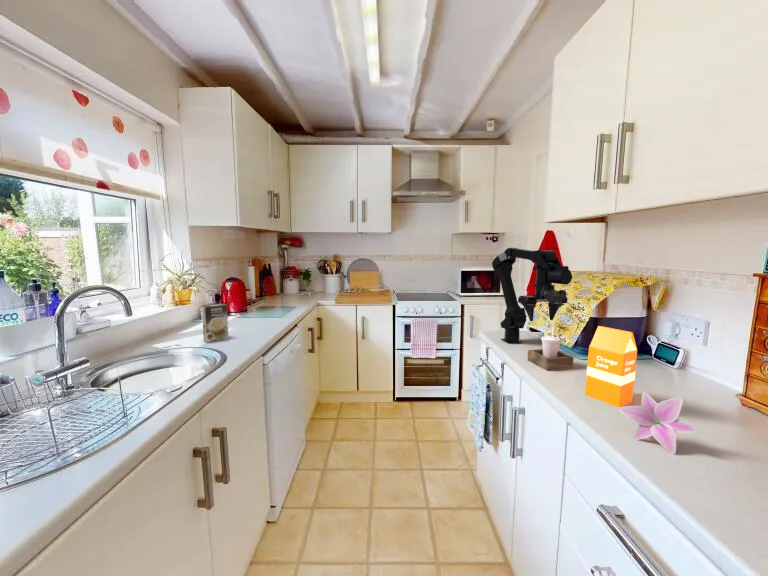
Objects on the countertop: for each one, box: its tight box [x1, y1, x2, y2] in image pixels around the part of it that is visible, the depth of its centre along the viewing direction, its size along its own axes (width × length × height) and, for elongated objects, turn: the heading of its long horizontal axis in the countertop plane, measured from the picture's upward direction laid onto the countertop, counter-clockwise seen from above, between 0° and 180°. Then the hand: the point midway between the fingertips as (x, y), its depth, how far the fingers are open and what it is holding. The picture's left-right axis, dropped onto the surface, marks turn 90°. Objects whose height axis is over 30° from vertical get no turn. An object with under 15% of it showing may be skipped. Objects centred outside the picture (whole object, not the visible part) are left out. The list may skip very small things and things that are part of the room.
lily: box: [618, 391, 697, 455], centre depth 73 cm, size 12×12×10 cm
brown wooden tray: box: [527, 348, 574, 371], centre depth 120 cm, size 10×10×4 cm
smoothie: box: [540, 326, 562, 358], centre depth 119 cm, size 6×6×14 cm
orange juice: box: [584, 325, 638, 408], centre depth 92 cm, size 8×9×20 cm
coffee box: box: [201, 303, 229, 344], centre depth 149 cm, size 9×6×16 cm
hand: (541, 320), depth 132 cm, fingers open, 9 cm apart
